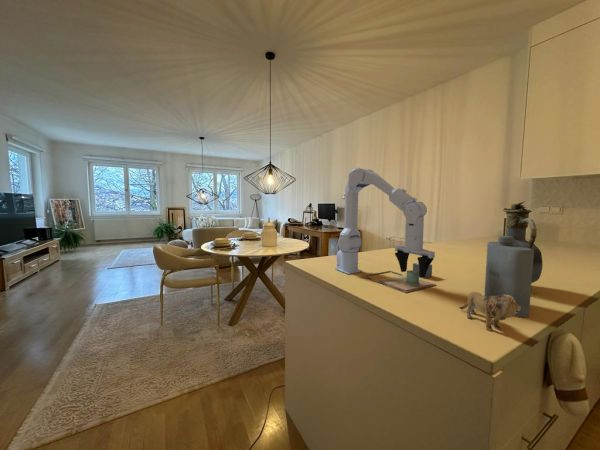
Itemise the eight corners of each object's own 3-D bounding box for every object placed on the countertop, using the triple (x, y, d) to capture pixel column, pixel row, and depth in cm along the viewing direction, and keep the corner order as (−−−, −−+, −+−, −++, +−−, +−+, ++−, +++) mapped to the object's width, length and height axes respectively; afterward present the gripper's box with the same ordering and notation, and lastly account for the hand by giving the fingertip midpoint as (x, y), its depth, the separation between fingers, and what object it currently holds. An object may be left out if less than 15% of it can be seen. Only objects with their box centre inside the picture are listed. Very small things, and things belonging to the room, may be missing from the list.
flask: (478, 295, 78) (481, 233, 77) (498, 296, 77) (503, 233, 76) (507, 316, 64) (513, 240, 62) (533, 318, 63) (539, 240, 61)
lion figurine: (523, 337, 54) (526, 297, 53) (503, 339, 53) (506, 299, 52) (467, 309, 68) (468, 277, 68) (450, 310, 67) (451, 278, 67)
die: (412, 275, 101) (412, 263, 100) (420, 273, 103) (421, 262, 103) (423, 278, 96) (424, 266, 96) (431, 277, 99) (432, 264, 98)
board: (361, 276, 99) (361, 275, 99) (390, 271, 107) (390, 270, 107) (405, 293, 81) (405, 291, 81) (436, 285, 88) (436, 283, 88)
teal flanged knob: (402, 283, 89) (402, 271, 88) (411, 281, 91) (411, 269, 91) (413, 287, 84) (414, 274, 84) (423, 285, 87) (423, 272, 86)
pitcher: (520, 282, 91) (526, 201, 89) (552, 301, 73) (560, 200, 71) (485, 279, 95) (490, 201, 93) (507, 296, 77) (514, 200, 75)
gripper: (389, 234, 91) (388, 270, 92) (425, 239, 78) (423, 281, 79) (402, 233, 94) (401, 268, 95) (439, 238, 81) (437, 278, 82)
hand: (412, 274), depth 87 cm, fingers open, 7 cm apart
